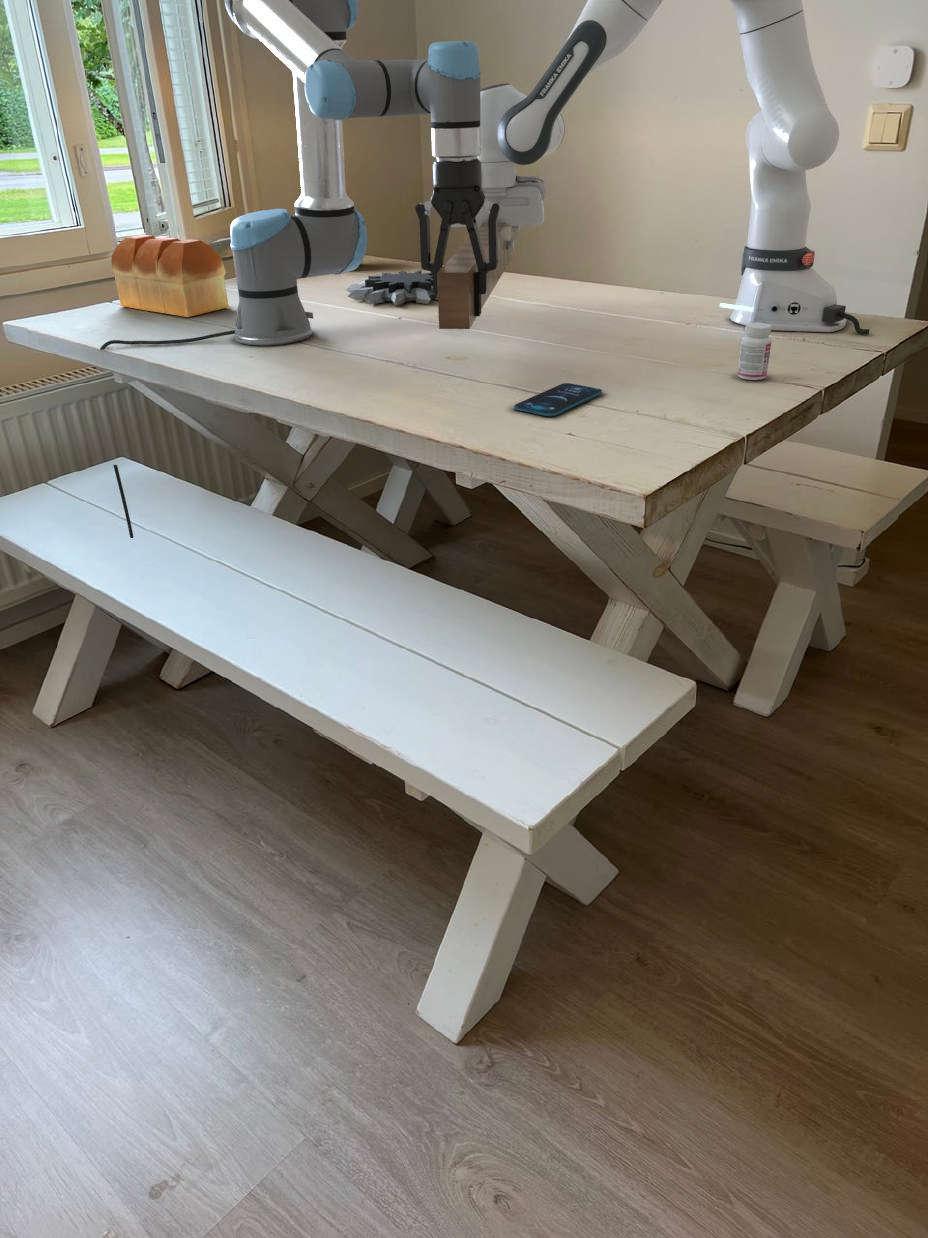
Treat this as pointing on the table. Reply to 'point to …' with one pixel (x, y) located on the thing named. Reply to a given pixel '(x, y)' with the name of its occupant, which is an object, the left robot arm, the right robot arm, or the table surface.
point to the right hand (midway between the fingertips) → (495, 249)
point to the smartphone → (558, 399)
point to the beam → (468, 279)
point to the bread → (169, 275)
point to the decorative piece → (395, 288)
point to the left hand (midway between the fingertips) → (461, 313)
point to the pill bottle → (755, 351)
